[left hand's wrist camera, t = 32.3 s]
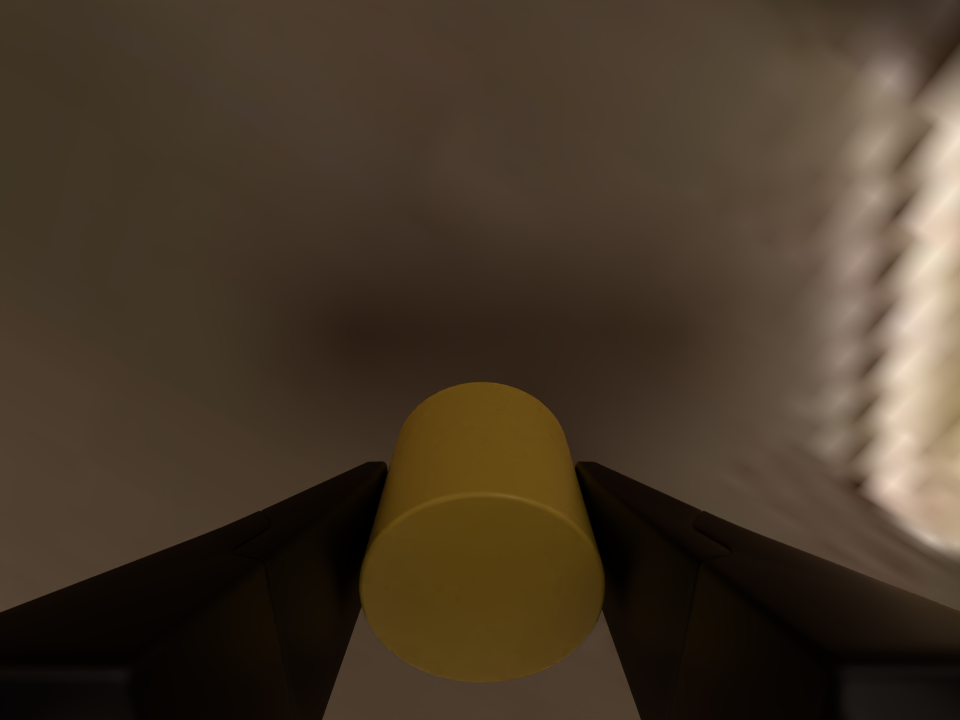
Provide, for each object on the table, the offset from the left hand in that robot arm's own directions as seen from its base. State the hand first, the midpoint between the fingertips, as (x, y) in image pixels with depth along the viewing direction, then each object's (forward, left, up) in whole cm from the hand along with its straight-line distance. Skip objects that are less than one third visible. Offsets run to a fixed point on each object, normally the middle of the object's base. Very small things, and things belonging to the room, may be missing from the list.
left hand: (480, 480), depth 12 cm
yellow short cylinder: (0, 0, -1) cm, 1 cm away
